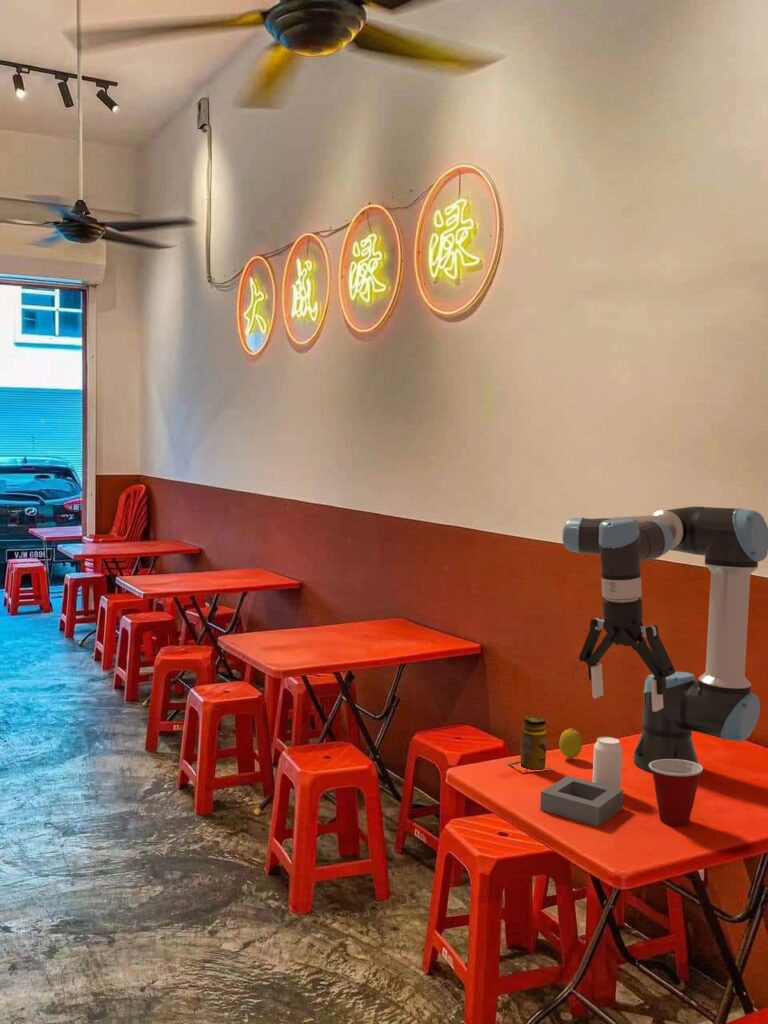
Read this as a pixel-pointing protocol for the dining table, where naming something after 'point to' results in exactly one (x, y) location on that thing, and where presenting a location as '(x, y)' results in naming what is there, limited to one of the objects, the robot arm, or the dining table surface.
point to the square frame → (582, 800)
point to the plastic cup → (675, 789)
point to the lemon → (570, 743)
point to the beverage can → (607, 762)
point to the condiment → (533, 744)
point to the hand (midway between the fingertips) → (627, 703)
